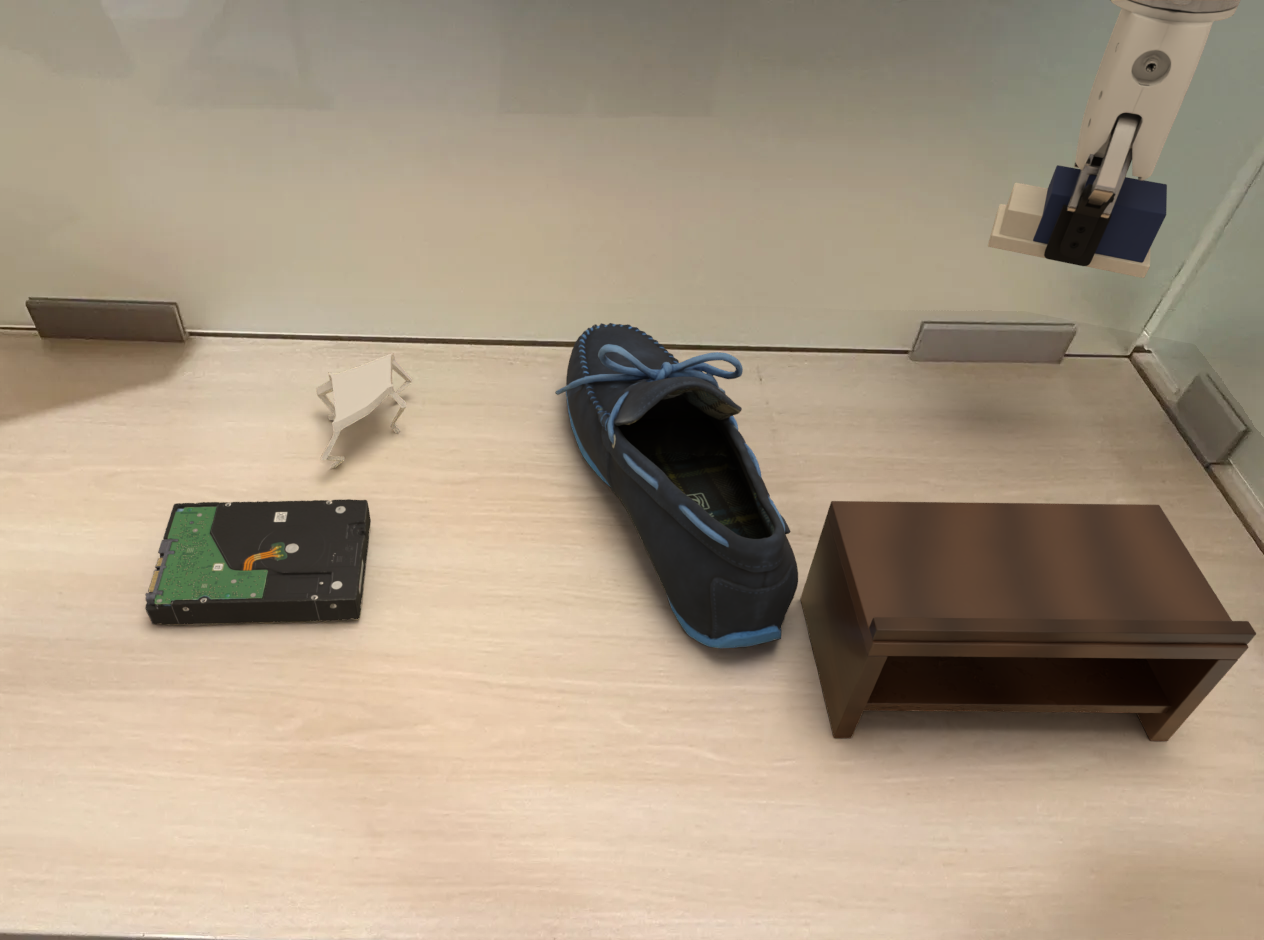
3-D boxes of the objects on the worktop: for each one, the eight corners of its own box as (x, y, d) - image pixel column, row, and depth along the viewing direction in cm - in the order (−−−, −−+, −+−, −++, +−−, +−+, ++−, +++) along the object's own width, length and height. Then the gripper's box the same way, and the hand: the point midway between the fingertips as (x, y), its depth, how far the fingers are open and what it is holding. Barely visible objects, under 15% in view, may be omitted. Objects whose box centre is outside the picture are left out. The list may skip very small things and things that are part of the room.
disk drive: (371, 522, 77) (180, 526, 76) (368, 496, 75) (171, 500, 74) (362, 624, 70) (150, 630, 69) (358, 599, 68) (140, 604, 67)
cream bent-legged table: (327, 390, 88) (319, 344, 85) (419, 396, 88) (415, 350, 84) (293, 479, 80) (283, 433, 77) (394, 486, 80) (388, 440, 76)
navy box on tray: (1145, 243, 75) (1174, 183, 71) (1144, 278, 71) (1174, 217, 68) (995, 214, 78) (1016, 156, 74) (987, 246, 74) (1008, 186, 71)
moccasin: (666, 359, 93) (681, 245, 84) (874, 626, 70) (923, 508, 62) (529, 388, 89) (529, 273, 81) (702, 680, 67) (728, 563, 58)
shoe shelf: (1096, 601, 72) (1166, 493, 64) (1168, 741, 64) (1259, 636, 56) (800, 598, 72) (834, 489, 64) (833, 738, 64) (877, 633, 56)
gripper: (1253, 30, 55) (1117, 309, 68) (1241, -52, 66) (1125, 202, 79) (1109, 11, 57) (1004, 285, 70) (1120, -66, 68) (1027, 184, 81)
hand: (1069, 239), depth 74 cm, fingers closed on navy box on tray, 5 cm apart
